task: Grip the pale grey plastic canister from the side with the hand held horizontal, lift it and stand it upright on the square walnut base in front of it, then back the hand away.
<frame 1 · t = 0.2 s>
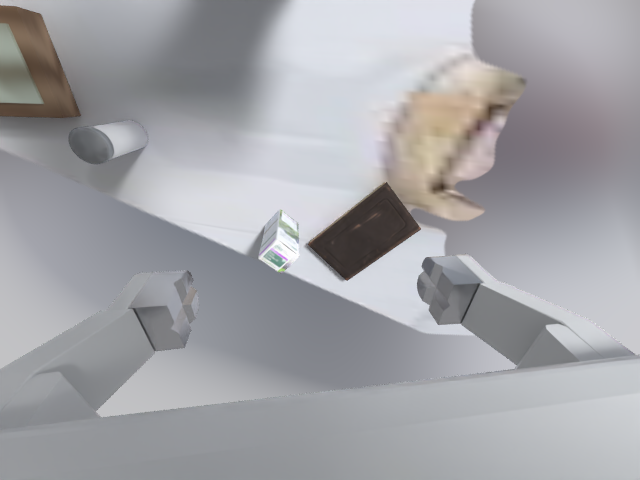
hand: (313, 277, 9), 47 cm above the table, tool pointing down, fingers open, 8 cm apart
hardcover book: (362, 232, 64), on the table
canister: (133, 134, 48), on the table
syrup box: (282, 223, 60), on the table
walnut base: (16, 67, 42), on the table
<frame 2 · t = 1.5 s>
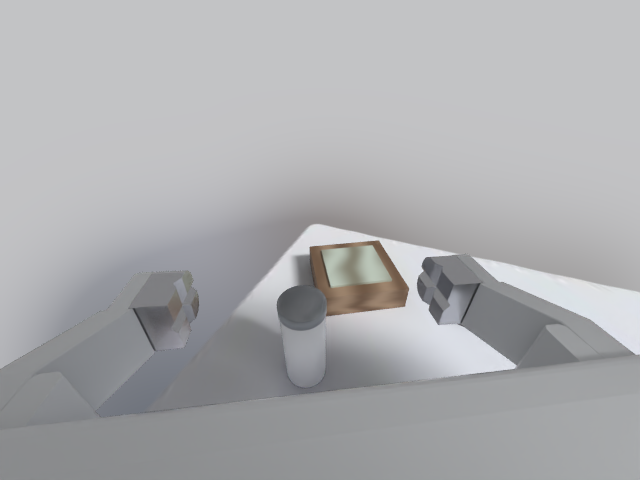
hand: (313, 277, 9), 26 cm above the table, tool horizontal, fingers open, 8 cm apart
canister: (306, 368, 33), on the table
walnut base: (352, 282, 47), on the table
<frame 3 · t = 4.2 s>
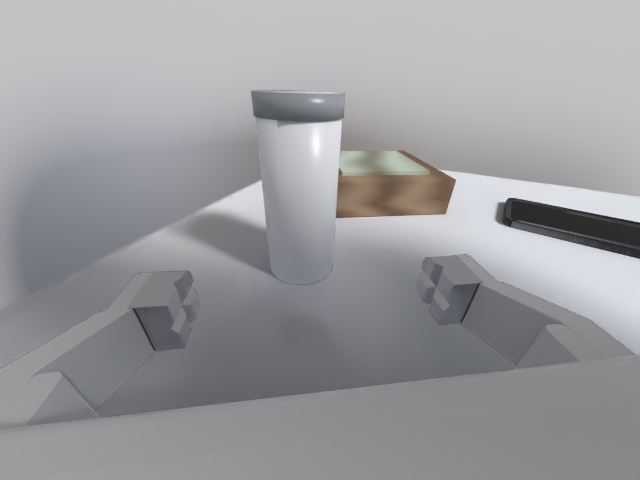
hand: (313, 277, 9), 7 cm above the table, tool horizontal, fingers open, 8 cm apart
canister: (301, 263, 20), on the table
phone: (584, 235, 27), on the table
walnut base: (369, 192, 34), on the table
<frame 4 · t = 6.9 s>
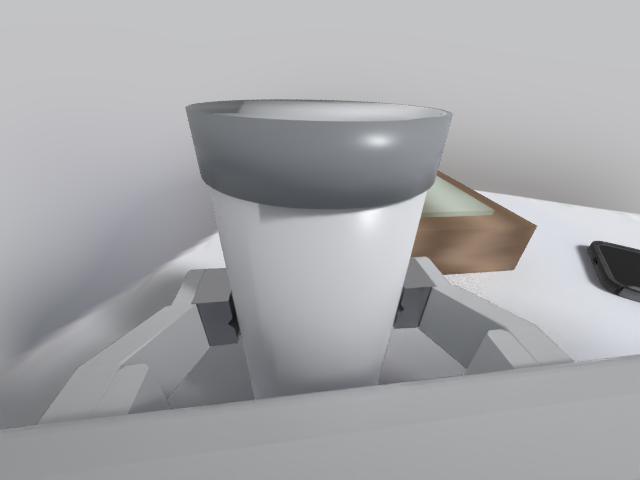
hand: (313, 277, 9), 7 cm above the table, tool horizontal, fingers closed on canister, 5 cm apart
canister: (314, 400, 12), on the table, touching gripper
walnut base: (397, 230, 25), on the table
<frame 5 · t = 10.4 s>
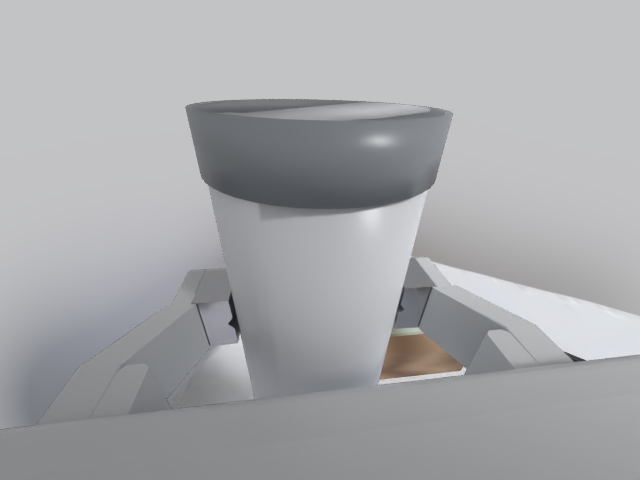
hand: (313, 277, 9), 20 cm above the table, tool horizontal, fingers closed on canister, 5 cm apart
canister: (314, 400, 12), point 13 cm above the table, touching gripper
walnut base: (377, 323, 32), on the table
when the fingers open (12 cm above the table, at t = 14.2 s): canister drops 1 cm, resting on walnut base.
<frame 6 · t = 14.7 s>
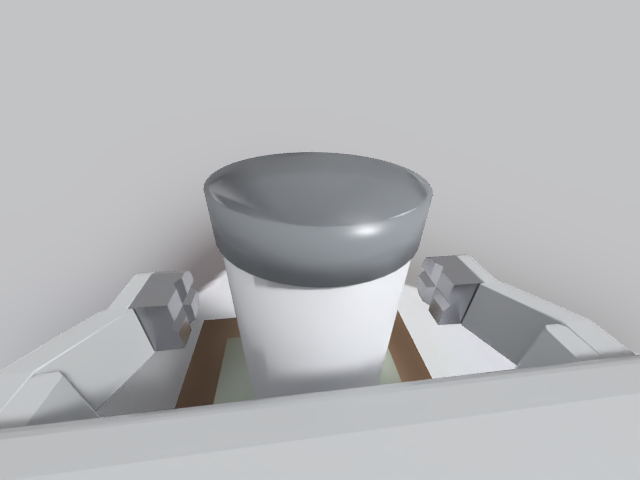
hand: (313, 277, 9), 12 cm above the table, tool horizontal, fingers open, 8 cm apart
canister: (313, 416, 12), point 4 cm above the table, touching walnut base
walnut base: (312, 452, 15), on the table
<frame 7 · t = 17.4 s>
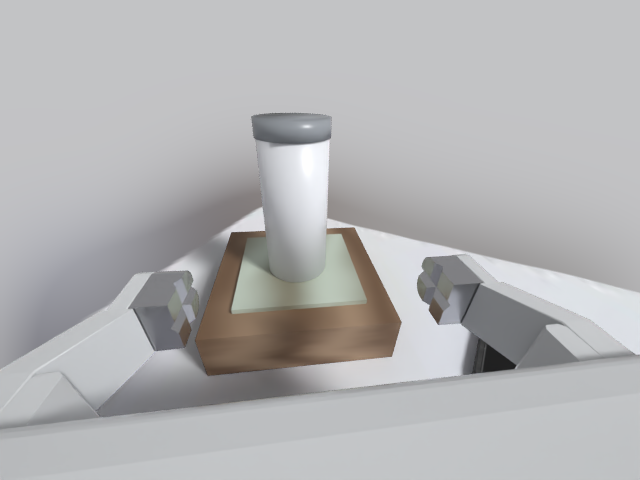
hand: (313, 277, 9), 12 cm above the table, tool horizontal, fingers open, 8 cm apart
canister: (297, 264, 23), point 4 cm above the table, touching walnut base
phone: (593, 407, 18), on the table
walnut base: (298, 299, 25), on the table
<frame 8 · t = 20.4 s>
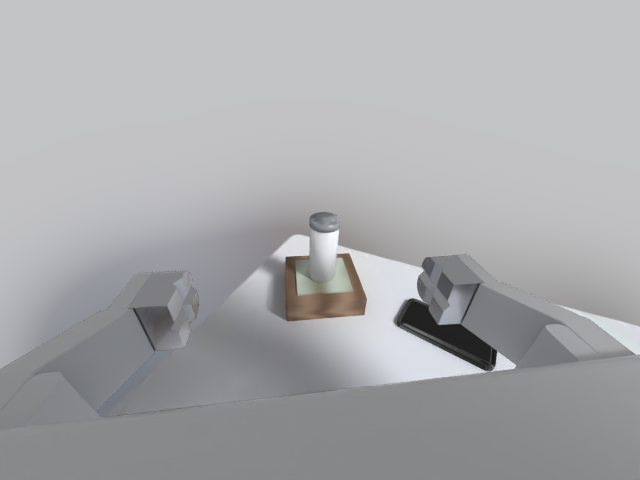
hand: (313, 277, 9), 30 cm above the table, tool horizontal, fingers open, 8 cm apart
canister: (322, 274, 49), point 4 cm above the table, touching walnut base
phone: (444, 333, 44), on the table
walnut base: (321, 291, 52), on the table
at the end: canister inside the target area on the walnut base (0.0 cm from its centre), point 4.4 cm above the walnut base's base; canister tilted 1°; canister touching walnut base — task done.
